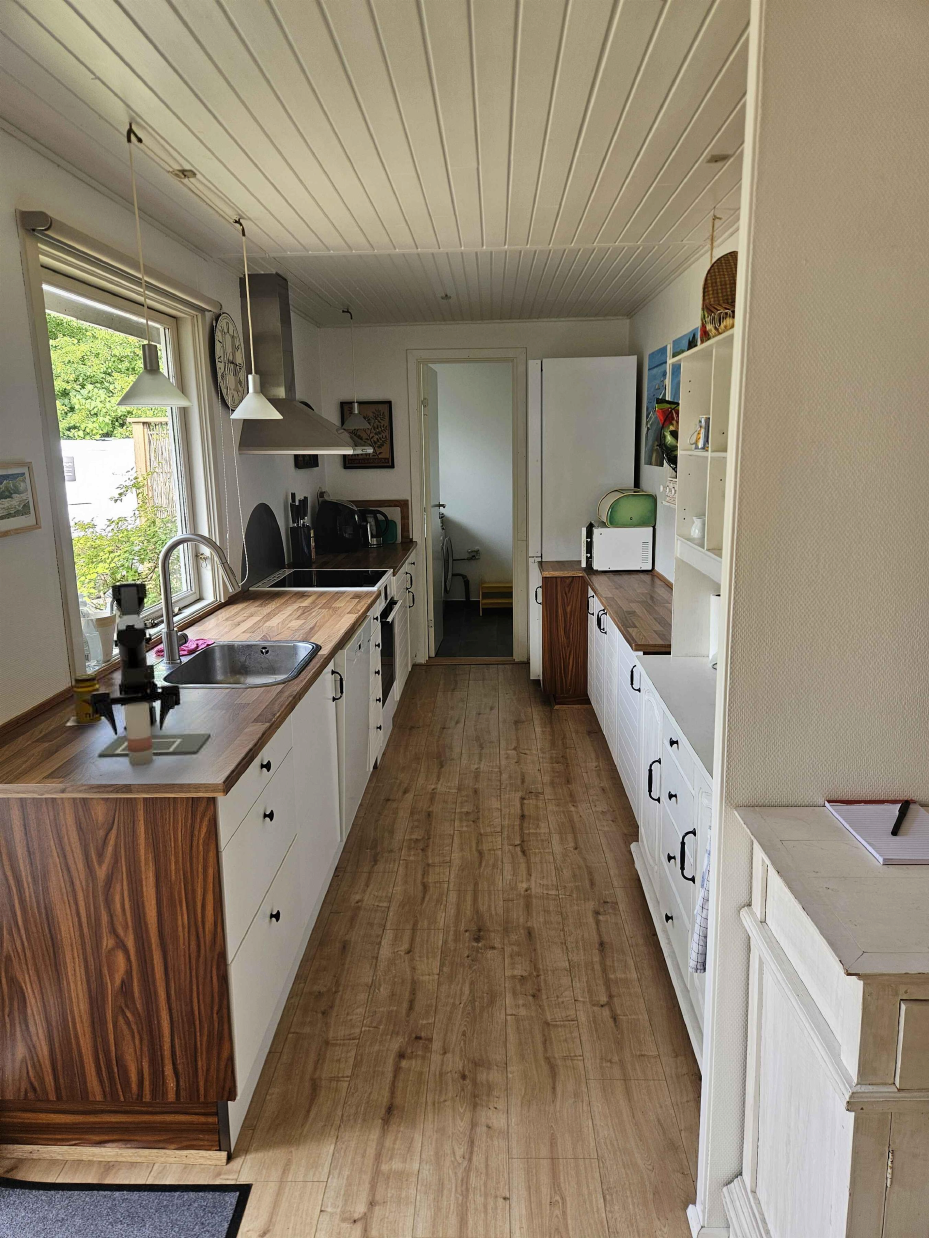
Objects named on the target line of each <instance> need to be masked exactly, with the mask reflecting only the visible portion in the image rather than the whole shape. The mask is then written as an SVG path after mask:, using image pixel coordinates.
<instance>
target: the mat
mask: <svg viewBox="0 0 929 1238" xmlns="http://www.w3.org/2000/svg"><path fill="white" fill-rule="evenodd" d="M151 736H152V750H153V756H161V755H164V756H167V755H168V756H169V755H191V754H193V755H194V754H195V755H196V754H198V752H199V750H201V748H202V747H203V745H204V744H205V743H206V742H207V741H208V739H209V738H210V737H211V733H185V734H184V733H182V734H181V733H180V734H179V733H177V734H175V733H173V734H151ZM126 756H127V757H129V752H128V744H127V735H119V736H118V735H117V737H116V738H114V740H113V741H111V742H110V743H109V744H108V745H107V746H106V747H105V748H104V749H102V750H101V751H100V752H99V753H97V757H100V758H102V757H126Z"/></svg>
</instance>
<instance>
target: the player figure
mask: <svg viewBox="0 0 929 1238" xmlns="http://www.w3.org/2000/svg"><path fill="white" fill-rule="evenodd" d="M123 707H124V708H125V709H124V717H125V718H124V720H125V719H126V720H125V726H126V729H125V730H126V736H127V744H128V752H129V756H128V760H129V761H128V762H129V765H132V766H144V765H148V764H150V763H152V762H153V761H154V755H153V750H152V736H151V735H152V729H151V728H152V727H150V715H149V704H148V703H146V702H136V703H130V704H127V705H125V706H123Z"/></svg>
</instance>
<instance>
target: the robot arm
mask: <svg viewBox="0 0 929 1238" xmlns="http://www.w3.org/2000/svg"><path fill="white" fill-rule="evenodd" d="M147 595H148V593H147V584H146V583H142V582H141V581H121V582H117V583H116V584H114V585H111V597H112V599H111V600H112V601H113V602H115V604H116V606H115V607H116V610H117V611H118V612H119V614H121V619H120V620H118V622H117V623H116V631H115V632H114V633H113V645H114V648H118V654H119V655H118V656H119V658H120V659H119V662H120V681H119V682H118V693H119V695H113V696H112V695H111V693H110V690H104V691H99V692H93V693H92V694H91V695H90V702H91V707H92V712H93V714H95V715H98V714H99V716H100V717H104V719H105V720H106V722H108V724H109V725H110V728H111V729H112V731H113V734H114V735H115V736H118V728H117V723H116V718H115V714H114V709H113V706H116V705H120V707H124V706H125V705H127V704H130V703H136V702H146V703H148V704H149V715H150V727H151V728H152V727H153V726H154V725H155V724H156V723H157V721H159V725H158V726H159V731H162V730H163V727H164V724H165V721H166V718H167V717H168V714H169V713H170V711H171V710H174V709H175V708H176V707H177V706H180V705H181V692H180V689H181V688H180V685H179V684H178V683H172V684H171V683H170V684H161V685H160V689H161V690H160V691H159V686H158V683H156V681H155V679H156V678H155V677H156V676H155V665H154V664H148V660H147V659H148V658H147V648H148V646H147V645H150V644H151V642H153V639H152V637H153V636H152V633H150V631H149V629H146V624H145V620H143V619H142V618H141V617H140V616H141V614H142V612H143V611H144V610H145V608H146V607H145V606H146V605H145V602H146V601H145V600H147V599H148V596H147ZM159 701H160V702H159ZM157 702H159V703H160V704H159V705H160V707H159V716H158V717H159V718H157V709H156V705H154V703H157ZM123 710H125V708H124V709H123ZM157 719H159V720H157ZM124 720H125V721H126V719H125V718H124ZM123 730H126V725H124V726H123Z"/></svg>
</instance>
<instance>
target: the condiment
mask: <svg viewBox="0 0 929 1238" xmlns="http://www.w3.org/2000/svg"><path fill="white" fill-rule="evenodd" d="M73 680H74V684H73V685H74V687H73V698H74V705H75V706H74V709H75V715H76V716H72V717H70V720H69V721H68V722H67V723H66V724H65V727H66V726H67V727H69V726H79V725H80V726H81V725H82V726H83V725H94V724H95V725H98V724H102V721H104V719H105V717H100V716H99V714H98V715H95V714H93V712H92V707H91V702H90V695H91V694H92V693H93V692H100V686H99V685H98V684H97V683H98V681H97V676H96V674H92V673H90V674H81V675H77V676H75V677H74V678H73Z"/></svg>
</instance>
